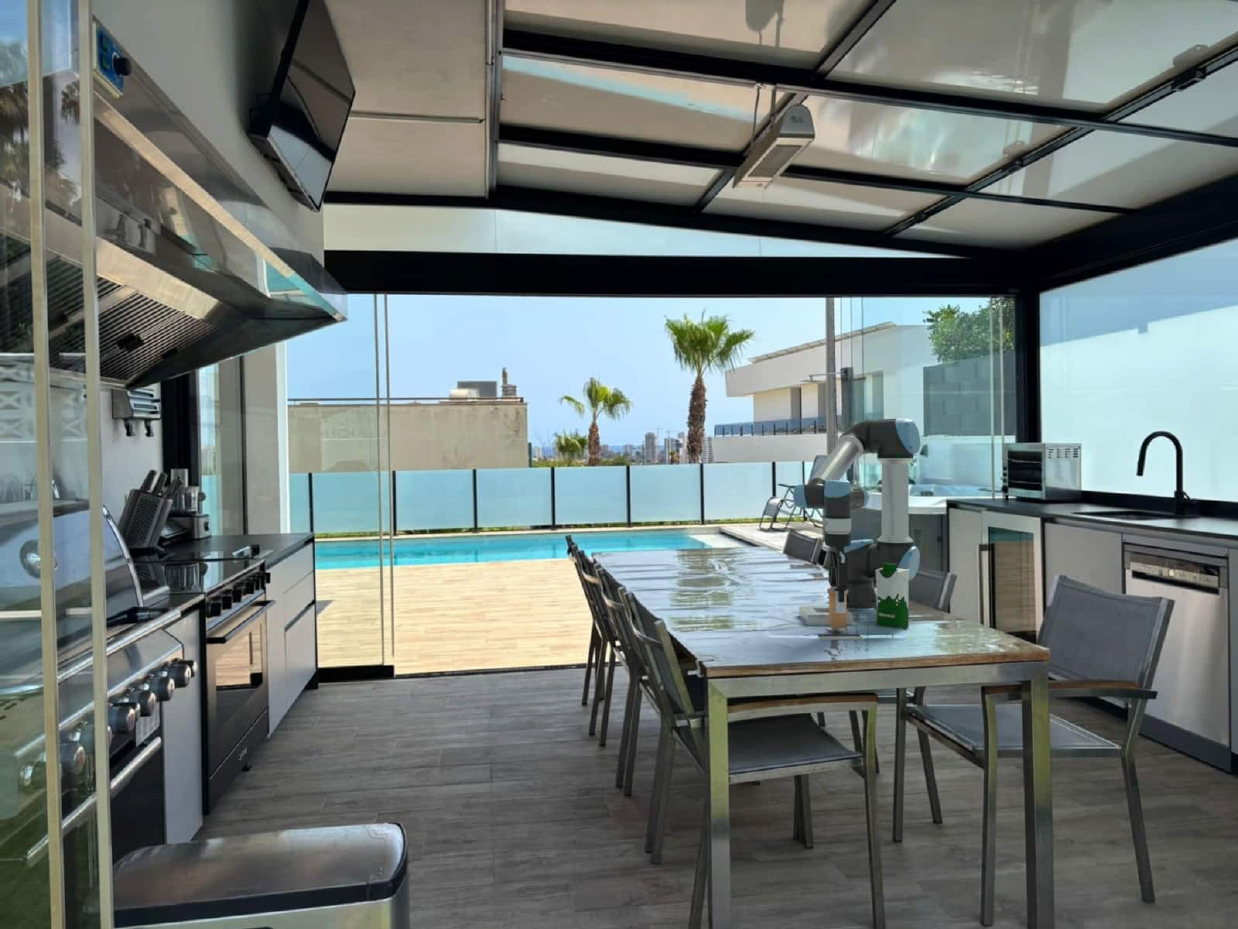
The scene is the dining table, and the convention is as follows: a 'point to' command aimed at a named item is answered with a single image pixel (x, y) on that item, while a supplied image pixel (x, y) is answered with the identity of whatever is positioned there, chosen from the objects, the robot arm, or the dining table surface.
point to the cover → (835, 618)
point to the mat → (840, 637)
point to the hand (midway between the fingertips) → (837, 610)
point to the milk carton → (892, 596)
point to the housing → (819, 615)
